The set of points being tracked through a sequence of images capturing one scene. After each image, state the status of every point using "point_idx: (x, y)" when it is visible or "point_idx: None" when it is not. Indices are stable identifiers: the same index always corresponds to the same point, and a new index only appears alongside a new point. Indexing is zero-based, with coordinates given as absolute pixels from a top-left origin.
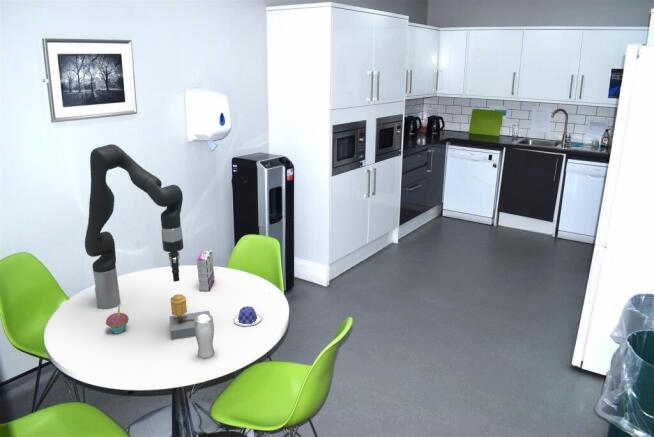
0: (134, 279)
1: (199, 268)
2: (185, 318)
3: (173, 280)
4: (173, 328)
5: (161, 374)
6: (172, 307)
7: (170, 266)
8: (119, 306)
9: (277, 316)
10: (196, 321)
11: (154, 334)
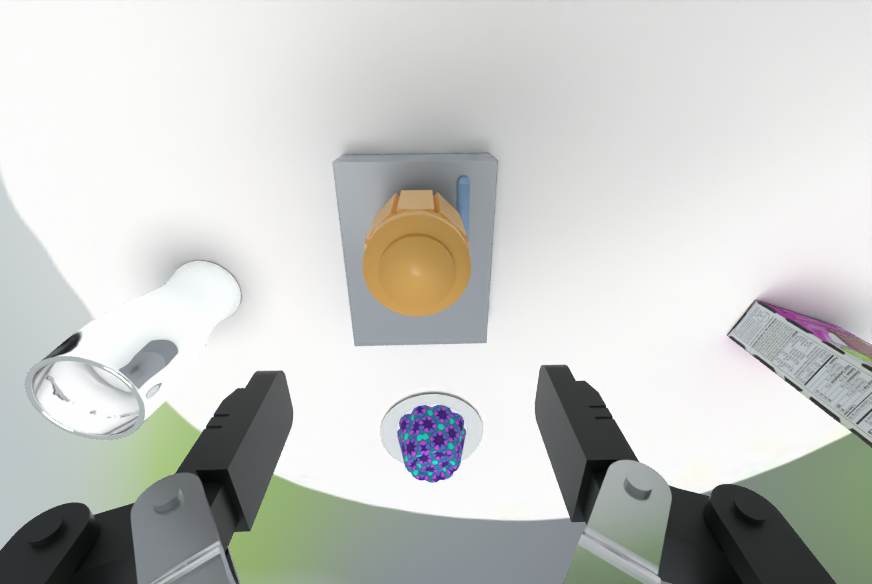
0: None
1: (867, 381)
2: None
3: (254, 376)
4: (355, 179)
5: (39, 99)
6: (386, 211)
7: (208, 554)
8: None
9: (424, 500)
10: (40, 367)
11: (417, 65)
